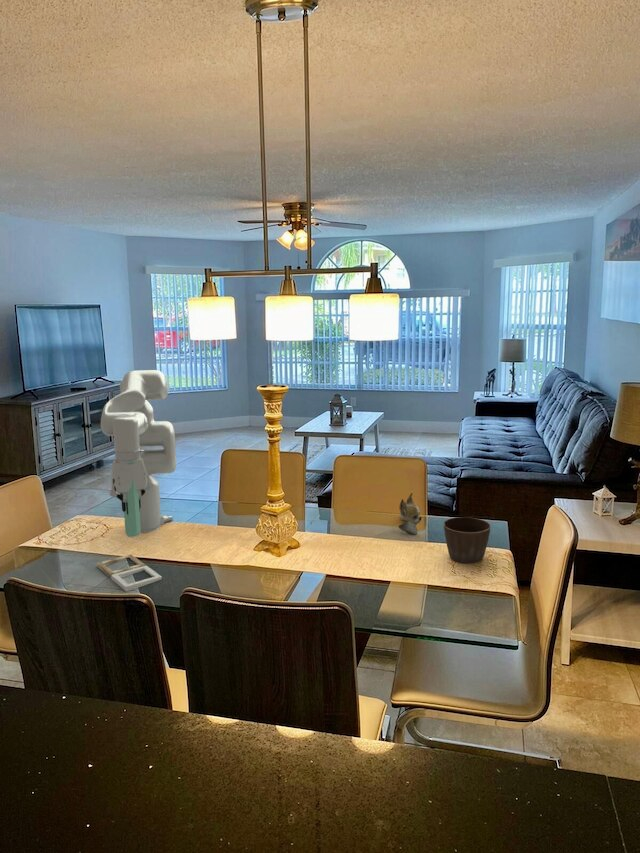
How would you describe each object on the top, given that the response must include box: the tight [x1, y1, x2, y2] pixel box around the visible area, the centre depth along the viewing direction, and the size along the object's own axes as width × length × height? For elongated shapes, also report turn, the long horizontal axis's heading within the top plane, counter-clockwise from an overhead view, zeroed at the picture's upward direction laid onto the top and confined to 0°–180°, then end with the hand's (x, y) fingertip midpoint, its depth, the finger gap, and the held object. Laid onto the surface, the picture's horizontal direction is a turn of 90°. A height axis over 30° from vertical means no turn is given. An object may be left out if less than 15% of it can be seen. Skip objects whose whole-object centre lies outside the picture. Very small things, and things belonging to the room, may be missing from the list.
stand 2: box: [110, 565, 163, 592], centre depth 205 cm, size 12×12×2 cm
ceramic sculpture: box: [398, 492, 423, 536], centre depth 242 cm, size 11×9×15 cm
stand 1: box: [96, 554, 146, 579], centre depth 215 cm, size 12×12×2 cm
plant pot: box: [443, 516, 492, 565], centre depth 207 cm, size 15×15×16 cm
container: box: [123, 462, 141, 538], centre depth 200 cm, size 6×6×25 cm
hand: (131, 511), depth 201 cm, fingers closed on container, 2 cm apart
